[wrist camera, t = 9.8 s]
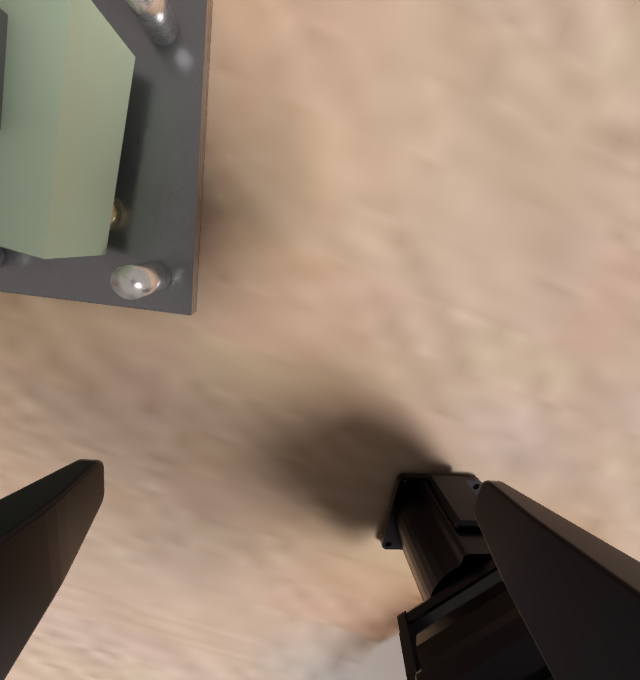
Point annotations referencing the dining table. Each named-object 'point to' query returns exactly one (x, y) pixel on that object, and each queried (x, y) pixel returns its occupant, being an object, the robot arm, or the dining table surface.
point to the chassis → (145, 172)
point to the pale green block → (60, 126)
